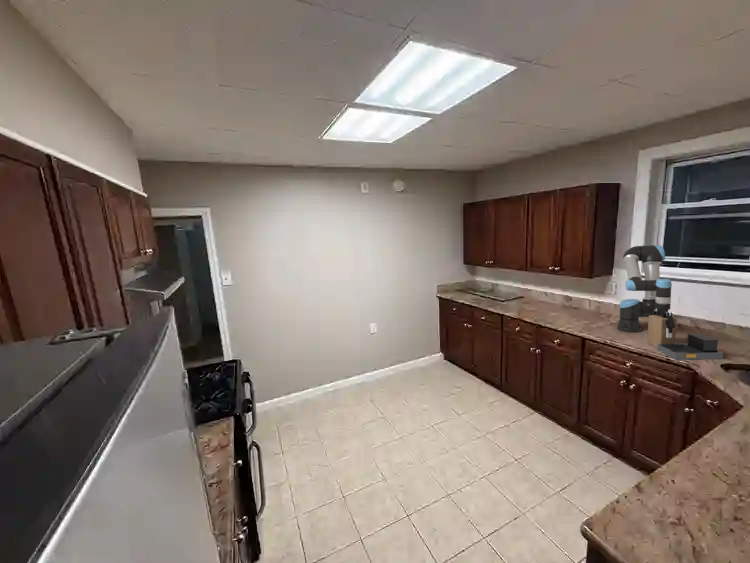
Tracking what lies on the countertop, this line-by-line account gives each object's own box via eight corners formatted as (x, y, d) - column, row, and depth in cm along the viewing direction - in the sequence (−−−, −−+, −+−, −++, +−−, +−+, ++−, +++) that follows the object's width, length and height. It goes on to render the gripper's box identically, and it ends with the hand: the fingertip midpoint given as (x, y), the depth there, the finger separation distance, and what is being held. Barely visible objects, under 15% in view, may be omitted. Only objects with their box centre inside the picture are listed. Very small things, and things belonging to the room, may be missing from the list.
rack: (657, 350, 210) (658, 333, 209) (700, 349, 206) (701, 332, 205) (676, 360, 194) (677, 342, 193) (723, 359, 190) (724, 341, 189)
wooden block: (661, 342, 222) (662, 313, 219) (675, 347, 212) (676, 317, 209) (647, 343, 222) (648, 315, 219) (660, 348, 212) (661, 319, 209)
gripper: (644, 299, 226) (643, 328, 229) (670, 307, 201) (668, 340, 204) (656, 298, 224) (655, 328, 227) (684, 306, 200) (682, 340, 203)
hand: (661, 334), depth 216 cm, fingers open, 13 cm apart
